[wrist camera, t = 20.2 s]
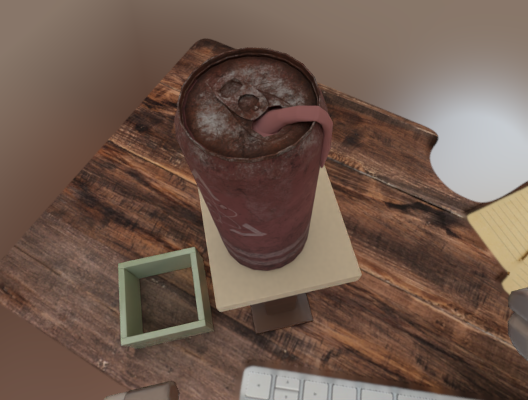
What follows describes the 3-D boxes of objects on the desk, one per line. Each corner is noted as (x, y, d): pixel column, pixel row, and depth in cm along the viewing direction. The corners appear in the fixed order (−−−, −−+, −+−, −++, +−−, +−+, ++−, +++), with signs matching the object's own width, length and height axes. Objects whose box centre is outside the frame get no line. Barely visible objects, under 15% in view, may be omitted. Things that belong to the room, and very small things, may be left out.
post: (312, 321, 50) (340, 270, 26) (256, 334, 50) (231, 294, 26) (298, 266, 54) (310, 176, 30) (245, 278, 53) (214, 197, 29)
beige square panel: (358, 280, 26) (362, 275, 24) (219, 312, 25) (216, 308, 24) (319, 163, 30) (320, 153, 29) (200, 188, 30) (196, 179, 28)
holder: (213, 331, 50) (205, 325, 45) (138, 348, 50) (120, 345, 44) (203, 259, 55) (194, 246, 50) (134, 274, 54) (117, 263, 49)
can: (308, 278, 24) (334, 174, 12) (216, 267, 25) (149, 158, 13) (314, 197, 27) (340, 43, 14) (230, 190, 28) (186, 35, 15)
